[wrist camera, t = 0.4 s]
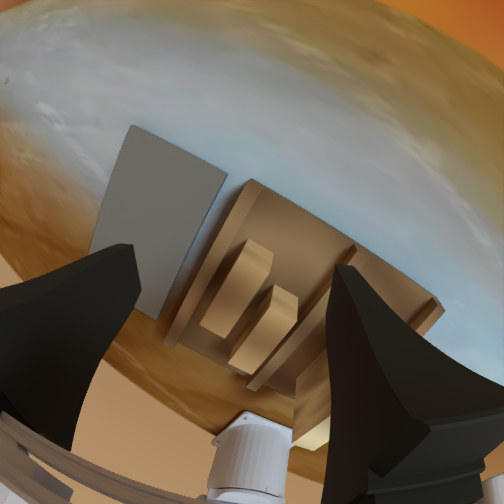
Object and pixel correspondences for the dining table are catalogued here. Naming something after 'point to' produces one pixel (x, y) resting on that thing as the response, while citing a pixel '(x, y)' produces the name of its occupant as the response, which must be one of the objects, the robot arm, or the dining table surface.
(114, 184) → the charcoal mat
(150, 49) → the dining table surface
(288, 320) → the teak offcut
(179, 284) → the dining table surface
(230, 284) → the teak offcut
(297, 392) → the birch panel
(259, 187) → the walnut rack
